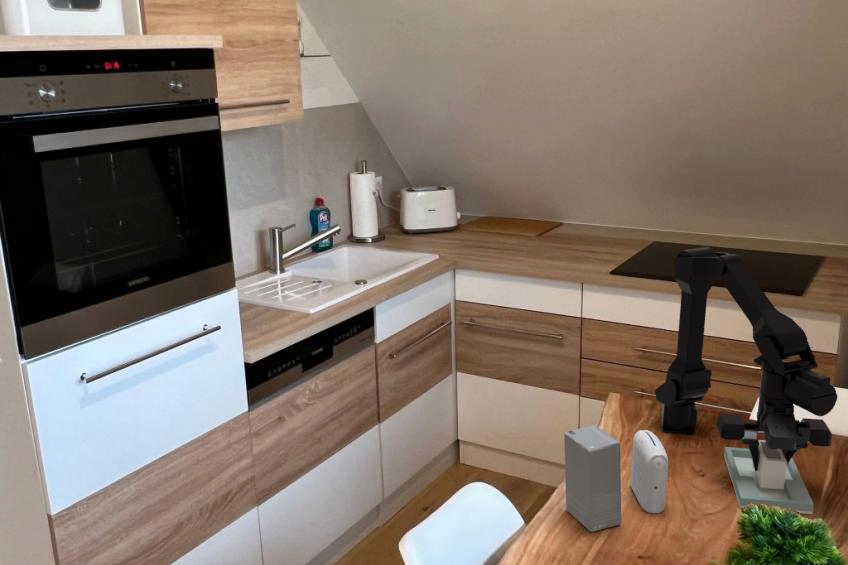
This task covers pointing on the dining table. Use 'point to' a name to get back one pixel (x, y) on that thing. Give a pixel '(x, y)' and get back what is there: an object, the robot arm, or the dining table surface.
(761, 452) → the socket block
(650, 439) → the photo printer
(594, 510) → the skincare box
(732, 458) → the keyhole tray
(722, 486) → the dining table surface
